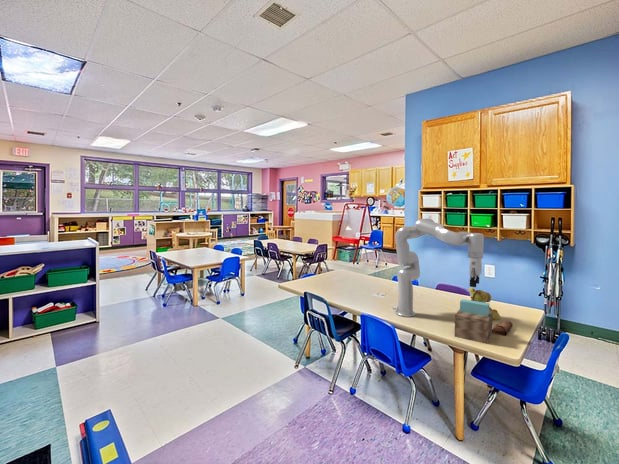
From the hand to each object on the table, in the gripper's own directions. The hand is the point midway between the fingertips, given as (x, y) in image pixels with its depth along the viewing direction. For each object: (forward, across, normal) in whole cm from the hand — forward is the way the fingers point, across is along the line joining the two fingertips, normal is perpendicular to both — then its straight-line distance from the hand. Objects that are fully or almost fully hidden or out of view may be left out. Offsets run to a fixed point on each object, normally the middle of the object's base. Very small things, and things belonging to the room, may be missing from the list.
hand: (474, 285), depth 171 cm
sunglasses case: (+29, +16, -13) cm, 36 cm away
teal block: (+16, 0, 0) cm, 16 cm away
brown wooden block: (+28, 0, 0) cm, 28 cm away
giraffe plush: (+29, +33, +1) cm, 44 cm away
